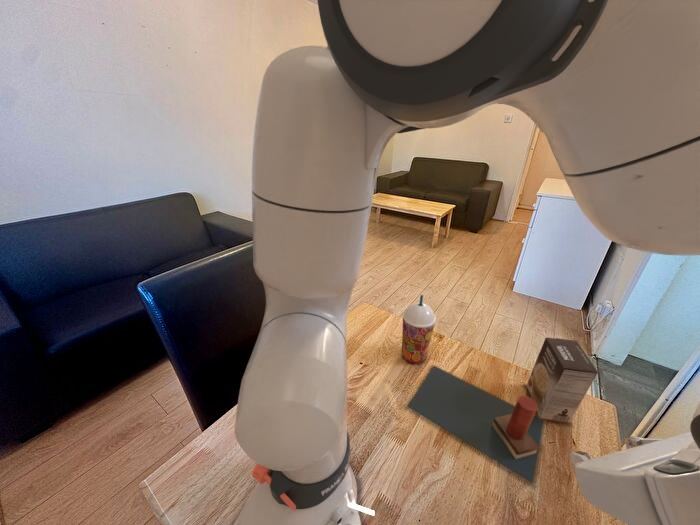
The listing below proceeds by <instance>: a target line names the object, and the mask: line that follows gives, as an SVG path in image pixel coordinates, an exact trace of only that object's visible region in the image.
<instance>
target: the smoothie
mask: <svg viewBox="0 0 700 525" xmlns="http://www.w3.org/2000/svg"><path fill="white" fill-rule="evenodd" d="M423 300H424V294H421V295H420V297H419V301H417V302H412V303H411V304H409V305H408V306H407V307H406V308H405V309H404V310H403V312H402V331H401V332H402V334H401V336H402V337H401V353H402V355H403V358H404V359H405V360H406V361H408V362H409V363H411V364H420V363H422V362H423V361H424V360H425V359H426V358H427V356H428V352H429V349H430V344H431V340H432V337H433V333H434V328H435V325H436V321H437V317H436V314H435V312H434V310H433V309H432V307H430V306H429V305H428V304H427V303H424V302H423Z"/></svg>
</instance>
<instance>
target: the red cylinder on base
mask: <svg viewBox="0 0 700 525" xmlns="http://www.w3.org/2000/svg"><path fill="white" fill-rule="evenodd" d="M514 406H515V408H514V410H513V413H512V414H510V415H506V416H501V417H497V418H494V421H493V423H492V426H493V427H494V429H495V430H496V432H497V433H498V435H499V436H500V438H501V439H502V440H503V442H504V443H505V445H506V446H507V448H508V449H509V451H510V452H511V454H512V455H513V456H514V458H515V459H518V458H522V457H526V456H530V455H534V454H536V452H537V449H538V447H539V448H540V445H539V446H538V445H537V444H536V443H535V441H534V440H533V439H532V438H531V436H530V435H529V434H528V432H527V430H528V428H529V426H530V424H531V422H532V419H533V417H534V416H535V415H536V414H537V408H538V406H537V403H536V402H535V401H534V400H533V399H531V396H530V397H529V396H527V395H520V396H519V397H518V399H517V401H516V403H515V405H514ZM538 450H539V449H538Z"/></svg>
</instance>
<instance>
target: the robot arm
mask: <svg viewBox="0 0 700 525" xmlns="http://www.w3.org/2000/svg"><path fill="white" fill-rule="evenodd" d="M317 7H318V14H319V19H320V24H321V28H322V32H323V36H324V39H325V42H326V44H327V46H323V45H303V46H297V47H294V48H290V49H289V50H286V51H283V52H282V53H280V54H278V55H277V56H276V57H275V58H274V59H273V60H272V61H271V62H270V63H269V65H268V66H267V67H266V69H265V71H264V73H263V76H262V80H261V85H260V91H259V96H258V102H257V108H256V115H255V123H254V132H253V141H252V142H253V143H252V155H251V156H252V157H251V216H252V217H251V218H252V264H253V270H254V273H255V274H256V276H257V278H258V279H259V280H260V281H261V282H262V285H263V289H264V294H265V309H264V315H263V318H262V322H261V326H260V330H259V333H258V335H257V339H256V341H255V343H254V346H253V349H252V352H251V355H250V358H249V360H248V362H247V364H246V368H245V370H244V373H243V376H242V377H241V382H240V386H239V387H240V388H239V392H238V397H237V398H238V399H237V405H236V414H235V415H236V416H235V422H234V437H235V439H236V442H237V444H238V446H239V447H240V449H241V450H242V451H243V452H244V453H245V455H246V456H248V458H250V459H251V460H252V461H254V462H255V464H256V465H255V467H254V468H253V470H252V472H251V475H252V477H253V478H254V479H256V480H257V481H258V482H257V483H256V485H255V487H254V488H253V490H252V492H251V493H250V495H249V497H248V498H247V500H246V502H245V504H244V506H243V507H242V508H241V510H240V511H239V512H240V513H239V515H238V516H237V517H236V519H235V521H234V523H232V525H362V521H361V517H360V513H359V512H362V513H365V514H368V515H371V516H373V517H375V510H372V509H370V508H367V507H364V506H361V505H359V504H358V503H357V500H358V486H357V480H356V476H355V473H354V471H353V468H352V467H351V465H350V464H351V463H350V462H351V453H352V449H351V441H350V440H351V439H350V435H349V434H350V433H349V431H348V360H347V359H348V356H347V354H348V353H347V329H348V328H347V325H348V313H349V306H350V302H351V299H352V295H353V291H354V288H355V286H356V283H357V282H358V280H360V276H361V270H362V263H363V257H364V253H365V252H364V251H365V246H366V239H367V234H368V231H369V230H368V229H369V224H370V217H371V212H372V205H373V198H374V193H375V188H376V187H375V186H376V181H377V176H378V169H379V166H380V163H381V159H382V155H383V154H384V151H385V149H386V147H387V145H388V143H389V142H390V141H391V140H392V139H393V137H394V136H395V135H396V134H403V133H404V134H405V133H409V132H414V131H420V130H426V129H440V128H446V127H449V126H452V125H455V124H457V123H460V122H462V121H465V120H466V119H468V118H470V117H472V116H474V115H476V114H477V113H478V112H481V111H482V110H484V109H485V108H487V107H490V106H492V105H505V106H509V107H513V108H515V109H517V110H518V111H520V112H522V113H524V114H525V115H526V116H527V117H528V118H529V119H530V120H531V121H532V122H533V123H534V124H535V126H536V127H537V128H538V129H539V131H540V132H541V133H543V134H544V135H545V137H546V140H547V142H548V145H549V147H550V150H551V152H552V154H553V156H554V159H555V161H556V163H557V165H558V167H559V169H560V172H561V173H562V175H563V177H564V180H565V182H566V184H567V186H568V188H569V190H570V192H571V194H572V196H573V198H574V200H575V202H576V204H577V206H578V207H579V209H580V210H581V212H582V213H583V215H584V216H585V217H586V218H587V220H588V221H589V222H590V223H591V224H592V225H593V226H594V228H596V230H597V231H598V232H599V233H600V234H601V235H602V236H603V237H604V238H606V239H607V240H609V241H610V242H614V243H616V244H618V245H620V246H623V247H626V248H628V249H632V250H636V251H639V252H644V253H648V254H653V255H654V254H655V255H665V256H682V257H683V256H684V257H685V256H686V257H687V256H700V0H317ZM689 428H690V431H687V432H683V433H679V434H677V435H672V436H669V437H665V438H645V437H644V438H643V437H639V436H634V435H632V436H628V437H625V438H623V442H624V444H625V449H623V450H619V451H615V452H611V453H608V454H604V455H601V456H597V457H593V458H591V456H590V453H587V452H585V451H582V450H576V451H572V452H569V454H568V455H569V459H570V462H571V464H572V466H573V471H574V475H575V478H576V481H577V485H578V488H579V490H580V492H581V494H582V496H583V498H584V499H585V501H586V502H587V503H588V504H590V505H591V506H593V507H594V508H595V509H597V510H599V511H601V512H603V513H604V514H607V515H608V516H610V517H612V518H615V519H616V520H618V521H620V522H622V523H624V524H626V525H700V402H699V403H698V404H697V407H696V409H695V411H694V413H693V417H692V420H691V421H690V426H689Z"/></svg>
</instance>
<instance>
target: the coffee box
mask: <svg viewBox="0 0 700 525" xmlns="http://www.w3.org/2000/svg"><path fill="white" fill-rule="evenodd" d="M598 373H599V371H598V370H597V368H596V366H595V365H594V364H593V362H592V360H590V358H589V356H588V355H587V354H586V352H585V350H584V349H583V347H582V346H581V344H580V342H578V341H577V340H576V339H575V340H574V339H565V338H559V337H556V338H554V337H544V341H543V343H542V346H541V348H540V350H539V353H538V355H537V357H536V361H535V363H534V365H533V367H532V370H531V373H530V375H529V378H528V380H527V383H526V385H525V387H526V388H527V391H528V393H529V396H530V398H531V399H533V400H534V401H535V402H536V403H537V406H538V408H537V411H536V414H537V417H538V418H539V419H542V420H544V419H545V420H549V421H555V422H562V423H568V424H570V422H571V421H572V419H573V417H574V416H575V414H576V412H577V410H578V409H579V406H580V405H581V403H582V402H583V400H584V398H585V397H586V395H587V393H588V391H589V389H590V388H591V386H592V384H593V382H594V381H595V379H596V378H597V376H598Z"/></svg>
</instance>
